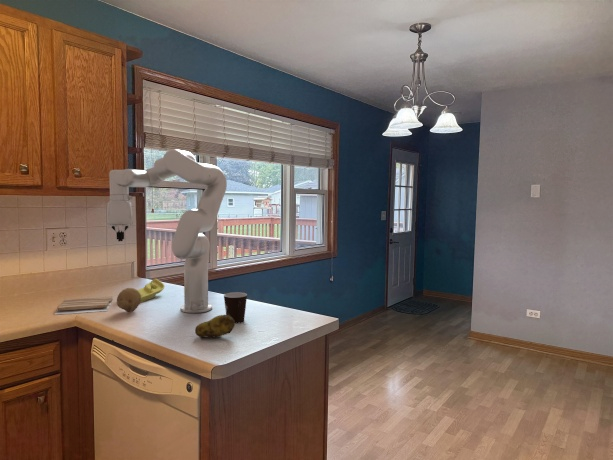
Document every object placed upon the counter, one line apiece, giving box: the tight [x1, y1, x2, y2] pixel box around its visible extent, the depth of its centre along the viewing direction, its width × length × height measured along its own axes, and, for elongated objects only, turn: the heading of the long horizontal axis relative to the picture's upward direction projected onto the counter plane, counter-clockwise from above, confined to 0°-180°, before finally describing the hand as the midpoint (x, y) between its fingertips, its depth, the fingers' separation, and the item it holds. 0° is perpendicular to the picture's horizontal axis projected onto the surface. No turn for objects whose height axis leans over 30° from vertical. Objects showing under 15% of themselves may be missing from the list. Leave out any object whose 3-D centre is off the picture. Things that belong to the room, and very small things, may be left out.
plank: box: [57, 301, 109, 311], centre depth 178 cm, size 8×18×1 cm, turn 109°
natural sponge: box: [116, 287, 141, 313], centre depth 172 cm, size 9×9×10 cm
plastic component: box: [121, 278, 165, 303], centre depth 198 cm, size 20×7×10 cm
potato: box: [194, 314, 236, 339], centre depth 142 cm, size 8×13×8 cm, turn 62°
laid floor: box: [53, 296, 113, 316], centre depth 181 cm, size 21×19×1 cm
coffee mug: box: [223, 291, 248, 325], centre depth 160 cm, size 12×9×10 cm
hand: (120, 240), depth 187 cm, fingers closed
